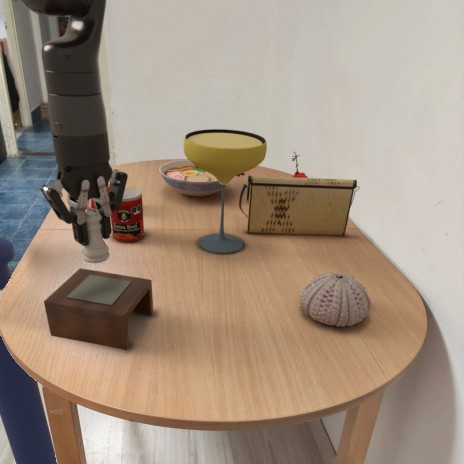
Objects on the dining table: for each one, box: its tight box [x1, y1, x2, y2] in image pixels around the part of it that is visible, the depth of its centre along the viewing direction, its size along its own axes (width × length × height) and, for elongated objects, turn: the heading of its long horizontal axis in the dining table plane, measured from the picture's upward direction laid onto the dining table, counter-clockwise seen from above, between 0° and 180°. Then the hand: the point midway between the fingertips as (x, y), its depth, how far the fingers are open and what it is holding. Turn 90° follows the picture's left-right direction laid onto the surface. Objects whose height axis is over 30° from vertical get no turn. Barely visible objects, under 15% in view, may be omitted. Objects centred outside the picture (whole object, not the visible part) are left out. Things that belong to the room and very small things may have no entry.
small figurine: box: [291, 151, 309, 178], centre depth 135 cm, size 8×7×15 cm
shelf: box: [43, 268, 154, 351], centre depth 79 cm, size 14×12×7 cm
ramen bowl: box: [158, 158, 246, 198], centre depth 139 cm, size 25×23×8 cm
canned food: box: [110, 187, 145, 243], centre depth 110 cm, size 8×8×11 cm
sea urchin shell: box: [299, 272, 372, 328], centre depth 86 cm, size 13×14×8 cm
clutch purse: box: [238, 175, 361, 237], centre depth 117 cm, size 30×7×15 cm, turn 92°
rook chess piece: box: [81, 208, 111, 264], centre depth 72 cm, size 4×4×8 cm
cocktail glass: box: [183, 128, 268, 255], centre depth 105 cm, size 18×18×25 cm
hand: (93, 240), depth 73 cm, fingers closed on rook chess piece, 3 cm apart
